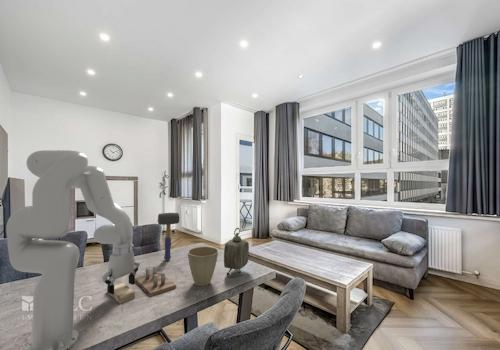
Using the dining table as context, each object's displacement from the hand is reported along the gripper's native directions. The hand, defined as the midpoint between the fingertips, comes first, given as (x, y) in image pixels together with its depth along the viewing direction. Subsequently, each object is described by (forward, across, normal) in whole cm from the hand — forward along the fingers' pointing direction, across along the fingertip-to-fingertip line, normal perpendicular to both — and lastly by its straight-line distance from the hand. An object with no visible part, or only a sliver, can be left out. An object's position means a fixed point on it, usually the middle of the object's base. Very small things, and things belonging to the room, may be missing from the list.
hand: (121, 288), depth 101 cm
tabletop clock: (+3, -45, +34) cm, 56 cm away
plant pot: (+3, -26, +25) cm, 36 cm away
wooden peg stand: (+3, -14, +5) cm, 15 cm away
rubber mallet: (+4, -41, -14) cm, 44 cm away
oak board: (+3, 0, 0) cm, 3 cm away
